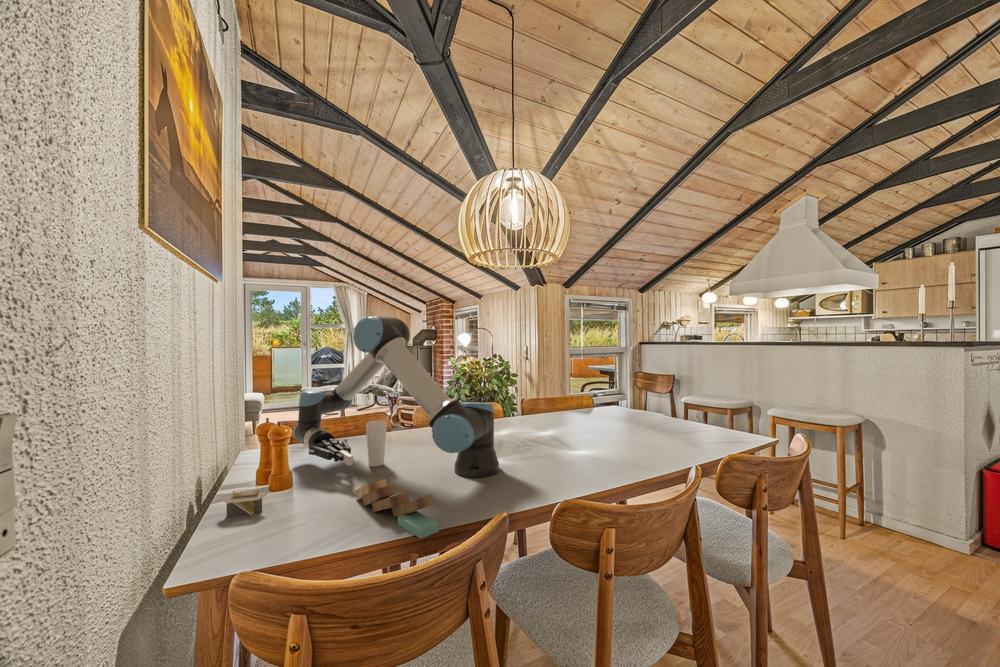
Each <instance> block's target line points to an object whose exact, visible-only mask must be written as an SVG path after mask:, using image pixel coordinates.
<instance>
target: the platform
mask: <svg viewBox="0 0 1000 667" xmlns="http://www.w3.org/2000/svg"><path fill="white" fill-rule="evenodd" d="M267 495H268V492H267V491H263V492H262V491H261V492H259V487H258V488H257V487H256V488H252V490H251V488H247V489H240V491H239V489H236V490H232V492H231V493H230V495H224V496H222V497H221V502H224V503H226V516H235V515H243V514H249V515H251V516H254V515H255V513H260V512H263V498H265V497H266V496H267Z"/></svg>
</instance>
